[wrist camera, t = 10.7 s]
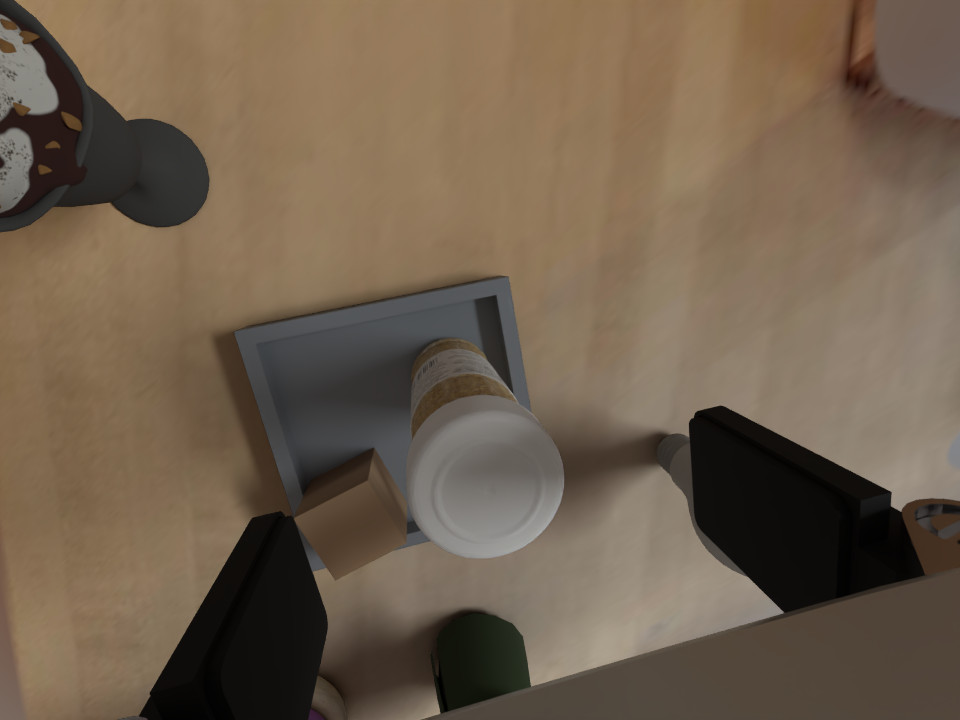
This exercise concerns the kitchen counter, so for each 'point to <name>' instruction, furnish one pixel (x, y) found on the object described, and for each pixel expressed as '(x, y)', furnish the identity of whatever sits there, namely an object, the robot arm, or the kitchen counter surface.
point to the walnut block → (353, 514)
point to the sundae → (81, 140)
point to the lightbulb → (687, 485)
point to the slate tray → (366, 378)
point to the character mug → (479, 661)
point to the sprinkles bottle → (476, 457)
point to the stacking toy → (326, 702)
